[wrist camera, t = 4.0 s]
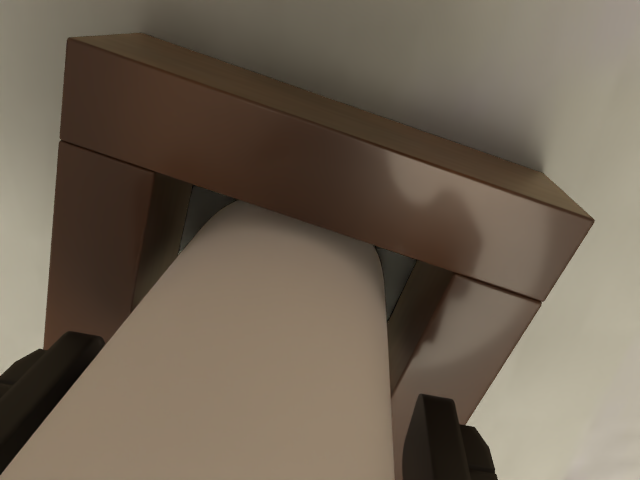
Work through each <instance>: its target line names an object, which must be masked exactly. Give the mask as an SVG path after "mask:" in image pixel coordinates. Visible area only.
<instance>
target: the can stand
mask: <svg viewBox="0 0 640 480" xmlns="http://www.w3.org/2000/svg"><path fill="white" fill-rule="evenodd" d="M60 139H61V140H60V142H59V149H58V162H57V175H56V188H55V202H54V215H53V228H52V241H51V255H50V268H49V281H48V294H47V308H46V321H45V334H44V347H43V350H48V349H49V348H50V347H51V346H52V345H53V344H54V343H55V342H56V341H57V340H58V339H59V338H60V337H61V336H62V335H63V334H64V333H66V332H68V331H74V332H79V333H85V334H91V335H96V336H101V337H102V338H103V339H104V342H105V345H106V344H107V342H108V341H109V340H110V339H111V337H112V336H113V335H114V334H115V333H116V331H117V330H118V329H119V328H120V326H121V325H122V324H123V323H124V321H125V320H126V319H127V318H128V317H129V315H130V314H131V313H132V312H133V310H134V309H135V308H136V307H137V306H138V304H139V303H140V302H141V301H142V299H143V298H144V297H145V296H146V295H147V293H148V292H149V291H150V290H151V288H152V287H153V286H154V285H155V284H156V282H157V281H158V280H159V279H160V277H161V276H162V275H163V274H164V273H165V271H166V270H167V269H168V268H169V266H170V265H171V264H172V263H173V262H174V260H175V259H176V258H177V256H178V251H179V247H180V242H181V237H182V232H183V228H184V223H185V218H186V214H187V209H188V204H189V199H190V195H191V190H192V185H196V186H199V187H202V188H205V189H208V190H211V191H214V192H217V193H220V194H223V195H226V196H229V197H232V198H235V199H238V200H241V201H244V202H247V203H250V204H253V205H256V206H259V207H262V208H265V209H268V210H271V211H274V212H277V213H280V214H283V215H286V216H289V217H292V218H295V219H298V220H300V221H303V222H306V223H309V224H312V225H315V226H318V227H321V228H324V229H327V230H330V231H333V232H336V233H339V234H342V235H345V236H348V237H351V238H354V239H357V240H360V241H363V242H366V243H369V244H372V245H375V246H378V247H381V248H384V249H387V250H390V251H393V252H396V253H399V254H402V255H405V256H408V257H410V258H413V259H416V260H417V262H416V264H415V266H414V268H413V271H412V273H411V275H410V277H409V279H408V281H407V283H406V285H405V288H404V290H403V292H402V294H401V296H400V298H399V300H398V302H397V305H396V307H395V309H394V311H393V313H392V315H391V317H390V319H389V321H388V324H387V337H388V356H389V375H390V394H391V415H392V435H393V455H394V475H395V480H403V476H402V455H403V447H404V442H405V438H406V435H407V431H408V428H409V424H410V421H411V418H412V414H413V411H414V407H415V404H416V401H417V398H418V396H419V394H427V395H433V396H438V397H444V398H450V399H453V400H454V403H455V406H456V411H457V416H458V420H459V424H460V425H466V423H467V421H468V420H469V418H470V417H471V415H472V413H473V412H474V410H475V409H476V407H477V406H478V404H479V402H480V401H481V399H482V398H483V396H484V395H485V393H486V391H487V390H488V388H489V387H490V385H491V384H492V382H493V380H494V379H495V377H496V376H497V374H498V373H499V371H500V369H501V368H502V366H503V365H504V363H505V362H506V360H507V358H508V357H509V355H510V354H511V352H512V351H513V349H514V347H515V346H516V344H517V343H518V341H519V340H520V338H521V336H522V335H523V333H524V332H525V330H526V329H527V327H528V325H529V324H530V322H531V321H532V319H533V318H534V316H535V314H536V313H537V311H538V310H539V308H540V307H541V304H542V302H543V301H545V299H546V297H547V296H548V294H549V293H550V291H551V290H552V288H553V286H554V285H555V283H556V282H557V280H558V279H559V277H560V275H561V274H562V272H563V271H564V269H565V268H566V266H567V264H568V263H569V261H570V260H571V258H572V257H573V255H574V253H575V252H576V250H577V249H578V247H579V246H580V244H581V242H582V241H583V239H584V238H585V236H586V235H587V233H588V231H589V230H590V228H591V227H592V225H593V224H594V221H595V220H594V219H593V218H592V217H591V216H590V215H589V214H588V213H587V212H585V211H584V210H583V209H582V208H581V207H580V206H579V205H578V204H577V203H576V202H575V201H573V200H572V199H571V198H570V197H569V196H568V195H567V194H566V193H565V192H564V191H563V190H561V189H560V188H559V187H558V186H557V185H556V184H555V183H554V182H553V181H552V180H550V179H549V178H548V177H547V176H546V175H545V174H544V173H541V172H539V171H536V170H533V169H530V168H527V167H524V166H521V165H519V164H516V163H513V162H510V161H507V160H504V159H501V158H498V157H496V156H493V155H490V154H487V153H484V152H481V151H478V150H476V149H473V148H470V147H467V146H464V145H461V144H458V143H456V142H453V141H450V140H447V139H444V138H441V137H438V136H436V135H433V134H430V133H427V132H424V131H421V130H418V129H415V128H413V127H410V126H407V125H404V124H401V123H398V122H395V121H393V120H390V119H387V118H384V117H381V116H378V115H375V114H373V113H370V112H367V111H364V110H361V109H358V108H355V107H352V106H350V105H347V104H344V103H341V102H338V101H335V100H332V99H330V98H327V97H324V96H321V95H318V94H315V93H312V92H310V91H307V90H304V89H301V88H298V87H295V86H292V85H289V84H287V83H284V82H281V81H278V80H275V79H272V78H269V77H267V76H264V75H261V74H258V73H255V72H252V71H249V70H247V69H244V68H241V67H238V66H235V65H232V64H229V63H227V62H224V61H221V60H218V59H215V58H212V57H209V56H206V55H204V54H201V53H198V52H195V51H192V50H189V49H186V48H184V47H181V46H178V45H175V44H172V43H169V42H166V41H164V40H161V39H158V38H155V37H152V36H149V35H146V34H143V33H127V34H113V35H98V36H83V37H69V38H68V39H67V46H66V59H65V72H64V85H63V99H62V112H61V125H60Z"/></svg>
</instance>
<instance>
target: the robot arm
mask: <svg viewBox="0 0 640 480" xmlns="http://www.w3.org/2000/svg"><path fill="white" fill-rule="evenodd" d="M104 346H105V342H104V339H103V338H102V337H101V336H96V335H91V334H85V333H79V332H74V331H68V332H66V333H64V334H63V335H62V336H61V337H60V338H59V339H58V340H57V341H56V342H55V343H54V344H53V345H52V346H51V347H50V348H49V349H48V350H43V349H38V350H36V351H34V352H32V353H31V354H29V355H27V356H25V357H23V358H21V359H20V360H18V361H16V362H15V363H14V364H13V365H11V366H10V367H9V368H8V369H7V370H6V371H5V372H4V373H3V374H2V375H1V376H0V475H1V474H2V472H3V471H4V470H5V469H6V467H7V466H8V465H9V464H10V462H11V461H12V460H13V459H14V457H15V456H16V455H17V454H18V452H19V451H20V450H21V449H22V447H23V446H24V445H25V444H26V442H27V441H28V440H29V439H30V437H31V436H32V435H33V434H34V432H35V431H36V430H37V429H38V428H39V426H40V425H41V424H42V423H43V421H44V420H45V419H46V418H47V416H48V415H49V414H50V413H51V411H52V410H53V409H54V408H55V406H56V405H57V404H58V403H59V402H60V400H61V399H62V398H63V397H64V395H65V394H66V393H67V392H68V390H69V389H70V388H71V387H72V385H73V384H74V383H75V382H76V381H77V379H78V378H79V377H80V376H81V374H82V373H83V372H84V371H85V369H86V368H87V367H88V366H89V364H90V363H91V362H92V361H93V360H94V358H95V357H96V356H97V355H98V353H99V352H100V351H101V350H102V348H103V347H104ZM402 476H403V480H498V479H497V475H496V474H495V468H494V464H493V460H492V457H491V453H490V449H489V447H488V445H487V444H486V443H485V441H484V440H483V438H482V437H481V435H480V434H479V433H478V431H477V430H476V428H475V427H472V426H466V425H460V424H459V420H458V416H457V411H456V406H455V403H454V400H453V399H450V398H444V397H438V396H433V395H427V394H419V396H418V398H417V401H416V404H415V407H414V411H413V414H412V418H411V421H410V424H409V428H408V431H407V435H406V438H405V442H404V447H403V455H402Z"/></svg>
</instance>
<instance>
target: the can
mask: <svg viewBox="0 0 640 480" xmlns="http://www.w3.org/2000/svg"><path fill="white" fill-rule="evenodd" d="M0 480H395V475H394V455H393V435H392V415H391V394H390V375H389V356H388V337H387V319H386V302H385V288H384V277H383V271H382V266H381V262H380V259H379V256H378V254H377V252H376V250H375V248H374V246H373V245H372V244H369V243H366V242H363V241H360V240H357V239H354V238H351V237H348V236H345V235H342V234H339V233H336V232H333V231H330V230H327V229H324V228H321V227H318V226H315V225H312V224H309V223H306V222H303V221H300V220H298V219H295V218H292V217H289V216H286V215H283V214H280V213H277V212H274V211H271V210H268V209H265V208H262V207H259V206H256V205H253V204H250V203H247V202H244V201H241V200H237V201H235V202H233V203H231V204H229V205H227V206H226V207H224V208H223V209H221V210H220V211H219V212H217V213H216V214H215V215H214V216H213V217H212V218H211V219H209V220H208V222H207V223H206V224H205V225H204V226H203V227H202V228H201V229H200V230H199V232H198V233H197V234H196V235H195V236H194V238H193V239H192V240H191V241H190V242H189V243H188V245H187V246H186V247H185V248H184V249H183V251H182V252H181V253H180V254H179V256H178V257H177V258H176V259H175V260H174V262H173V263H172V264H171V265H170V266H169V268H168V269H167V270H166V271H165V273H164V274H163V275H162V276H161V277H160V279H159V280H158V281H157V282H156V284H155V285H154V286H153V287H152V288H151V290H150V291H149V292H148V293H147V295H146V296H145V297H144V298H143V299H142V301H141V302H140V303H139V304H138V306H137V307H136V308H135V309H134V310H133V312H132V313H131V314H130V315H129V317H128V318H127V319H126V320H125V321H124V323H123V324H122V325H121V326H120V328H119V329H118V330H117V331H116V333H115V334H114V335H113V336H112V337H111V339H110V340H109V341H108V342H107V344H106V345H105V346H104V347H103V348H102V350H101V351H100V352H99V353H98V355H97V356H96V357H95V358H94V360H93V361H92V362H91V363H90V364H89V366H88V367H87V368H86V369H85V371H84V372H83V373H82V374H81V376H80V377H79V378H78V379H77V381H76V382H75V383H74V384H73V385H72V387H71V388H70V389H69V390H68V392H67V393H66V394H65V395H64V397H63V398H62V399H61V400H60V402H59V403H58V404H57V405H56V406H55V408H54V409H53V410H52V411H51V413H50V414H49V415H48V416H47V418H46V419H45V420H44V421H43V423H42V424H41V425H40V426H39V428H38V429H37V430H36V431H35V432H34V434H33V435H32V436H31V437H30V439H29V440H28V441H27V442H26V444H25V445H24V446H23V447H22V449H21V450H20V451H19V452H18V454H17V455H16V456H15V457H14V459H13V460H12V461H11V462H10V464H9V465H8V466H7V467H6V469H5V470H4V471H3V472H2V474H1V475H0Z"/></svg>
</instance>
